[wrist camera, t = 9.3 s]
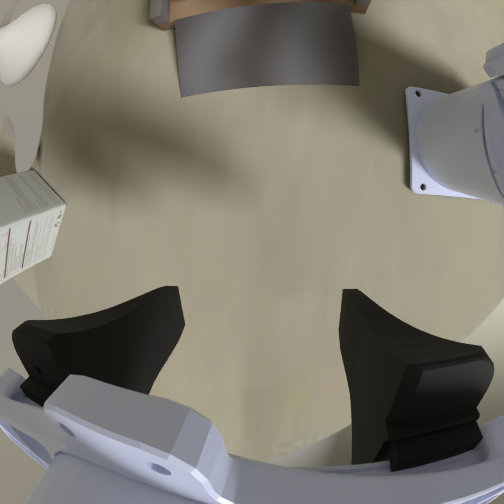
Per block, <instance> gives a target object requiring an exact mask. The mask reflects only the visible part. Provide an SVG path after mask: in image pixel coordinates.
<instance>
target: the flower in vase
mask: <svg viewBox="0 0 504 504" xmlns="http://www.w3.org/2000/svg"><path fill="white" fill-rule="evenodd" d="M55 23H56V10H55V7H54V5H52V4H50V3H45V4H40V5H37V6H35V7H33V8H31V9H29V10H28V11H26V12H25V13H23V14H22V15H21V16H19V17H18V18H17V19H15V20H14V21H13V22H11V23H10V24H8V25H6V26H5V27H1V28H0V79H1V81H2V82H3V83H4V84H6V85H7V86H13V85H15V84H17V83H19V82H20V81H22V80H23V79H24V78H25V77H26V76H27V75H28V74H29V73H30V72H31V71H32V69H33V68H34V67H35V65H36V64H37V62H38V61H39V59H40V58H41V56H42V54H43V52H44V51H45V49H46V47H47V45H48V43H49V40H50V38H51V36H52V33H53V30H54V27H55Z"/></svg>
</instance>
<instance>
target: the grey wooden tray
mask: <svg viewBox="0 0 504 504" xmlns="http://www.w3.org/2000/svg"><path fill="white" fill-rule="evenodd" d="M370 2H371V0H151V2H150V12H149V19H150V20H151V21H152V22H154V23H155V24H156V25H157V26H159V27H160V28H161V29H162V30H164V31H165V30H169V29H172V28H175V34H176V47H177V58H178V69H179V79H180V89H181V97H186V96H191V95H196V94H202V93H208V92H215V91H222V90H230V89H238V88H247V87H258V86H272V85H296V84H329V85H352V86H359V80H358V68H357V58H356V49H355V41H354V33H353V26H352V20H351V14H350V12H355V13H364V14H365V13H366V11H367V8H368V6H369V4H370Z"/></svg>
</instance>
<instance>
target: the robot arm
mask: <svg viewBox="0 0 504 504" xmlns="http://www.w3.org/2000/svg"><path fill="white" fill-rule="evenodd" d="M483 68H484V70H485V71H486V73H487V75H488V76H489V77H490V78H491V77H495V76H497V77H495V78H493V79H491V80H488V81H486V82H483V83H480V84H477V85H474V86H471V87H468V88H466V89H463V90H460V91H457V92H454V93H452V94H446V93H442V92H438V91H433V90H428V89H423V88H418V87H412V86H409V87H408V88H406V90H405V97H406V106H407V116H408V129H409V148H410V189H411V191H412V192H414V193H418V194H432V195H445V196H456V197H467V198H476V199H483V200H486V201H489V202H492V203H495V204H498V205H501V206H504V43H502V44H500V45H498V46H496V47H494V48H492V49H490V50H489V51H487V53H486V63H485V64H484V65H483ZM499 75H500V76H499ZM416 91H417V92H418V93H419V95H420V96H419V97H418V96H417V95H416V93H415V92H416ZM421 184H423V185H424V189H423V190H421V188H420V186H421ZM184 326H185V321H184V316H183V311H182V306H181V300H180V295H179V289H178V286H164V287H160V288H157V289H155V290H152V291H150V292H148V293H145V294H143V295H141V296H138V297H136V298H134V299H131V300H129V301H126V302H124V303H121V304H119V305H116V306H114V307H111V308H108V309H105V310H102V311H99V312H95V313H91V314H87V315H82V316H77V317H72V318H65V319H56V320H28V321H25V322H24V323H22V324H21V325H20V326H18V327H17V328H16V329H15V330H13V333H12V340H13V344H14V347H15V350H16V352H17V354H18V356H19V358H20V360H21V362H22V364H23V365H24V367H25V369H26V371H27V372H28V374H29V377H28V378H27V379H26V380H25V379H24V378H23V376H21V375H20V374H19V373H17V372H15V371H14V370H12V369H10V368H9V369H8V370H7V371H5V372H4V373H3V374H2V375H1V376H0V427H1V429H2V430H3V431H4V432H5V433H6V434H7V436H8V437H9V438H10V439H11V440H13V441H14V442H15V443H16V444H17V445H18V446H19V447H21V448H22V449H23V450H24V451H25V452H26V453H28V454H29V455H30V456H31V457H32V458H33V459H35V460H36V461H37V462H38V463H40V464H41V465H42V466H44V467H45V468H46V471H45V472H44V474H43V475H42V476H41V478H40V479H39V481H38V482H37V483H36V485H35V486H34V488H33V489H32V491H31V492H30V494H29V495H28V497H27V498H26V500H25V501H24V503H23V504H487V503H489V502H491V501H492V500H494V499H495V498H496V497H498V496H499V495H500V494H502V493H503V492H504V415H502V416H500V417H498V418H495V419H493V420H490V421H488V422H486V423H485V424H483V425H482V426H481V427H480V428H479V426H478V424H477V422H476V420H478V418H479V416H480V414H479V412H478V410H477V408H476V407H477V406H478V404H479V402H480V401H481V399H482V398H483V396H484V394H485V393H486V391H487V389H488V387H489V385H490V383H491V381H492V378H493V374H494V364H493V362H492V361H491V359H490V358H489V356H488V355H487V353H486V352H485V350H484V349H483V348H482V346H477V345H471V344H465V343H459V342H455V341H451V340H447V339H443V338H440V337H437V336H434V335H431V334H429V333H426V332H424V331H421V330H419V329H417V328H415V327H413V326H411V325H409V324H407V323H405V322H403V321H401V320H400V319H398V318H396V317H395V316H393V315H392V314H390V313H389V312H387V311H386V310H384V309H383V308H382V307H380V306H379V305H378V304H376V303H375V302H374V301H372V300H371V299H370V298H369V297H367V296H366V295H365V294H363V293H362V292H361V291H359V290H358V289H343V292H342V303H341V313H340V322H339V340H340V350H341V354H342V359H343V363H344V368H345V372H346V377H347V381H348V386H349V392H350V400H351V417H352V463H351V465H347V466H331V467H284V466H279V465H274V464H269V463H265V462H260V461H256V460H252V459H248V458H244V457H240V456H237V455H233V454H229V453H227V451H226V448H225V444H224V441H223V437H222V436H221V434H220V433H219V432H218V430H217V429H216V427H215V426H214V425H213V423H212V422H211V421H210V420H209V419H208V418H206V417H204V416H203V415H201V414H200V413H198V412H197V411H195V410H194V409H192V408H191V407H188V406H185V405H182V404H180V403H177V402H174V401H171V400H169V399H165V398H160V397H156V396H152V395H149V392H150V390H151V388H152V386H153V383H154V381H155V379H156V378H157V376H158V374H159V372H160V371H161V369H162V367H163V366H164V364H165V363H166V361H167V359H168V358H169V356H170V355H171V353H172V351H173V350H174V348H175V346H176V345H177V343H178V341H179V339H180V336H181V334H182V332H183V329H184Z"/></svg>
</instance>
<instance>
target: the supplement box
mask: <svg viewBox="0 0 504 504" xmlns="http://www.w3.org/2000/svg"><path fill="white" fill-rule="evenodd" d="M65 208H66V203H65V202H64V201H63V200H62V199H61V198H60V197H59V196H58V195H57V194H56V193H55V192H54V191H53V190H52V189H51V188H50V187H49V186H48V185H47V184H46V183H45V182H44V181H43V179H42V178H41V177H40V176H39V175H38V174H37V173H36V172H35V171H34V170H32V171H26V172H21V173H16V174H11V175H7V176H2V177H0V284H2V283H3V282H5V281H6V280H8V279H10V278H12V277H13V276H15V275H17V274H19V273H21V272H22V271H24V270H26V269H28V268H30V267H32V266H33V265H35V264H37V263H39V262H41V261H43V260H45V259H47V258H48V257H50V256H51V254H52V251H53V248H54V244H55V241H56V237H57V234H58V230H59V227H60V224H61V221H62V217H63V214H64V211H65Z"/></svg>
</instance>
